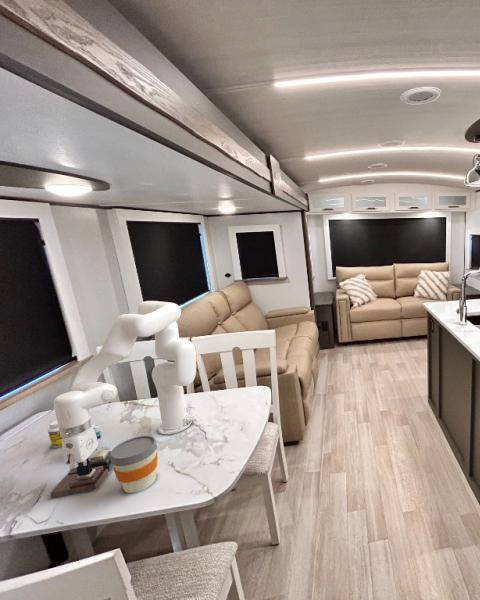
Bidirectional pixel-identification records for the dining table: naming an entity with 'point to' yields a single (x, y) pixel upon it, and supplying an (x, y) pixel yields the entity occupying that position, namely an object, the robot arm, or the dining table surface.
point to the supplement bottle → (54, 435)
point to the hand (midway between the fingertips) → (85, 473)
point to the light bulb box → (98, 439)
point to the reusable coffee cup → (135, 463)
